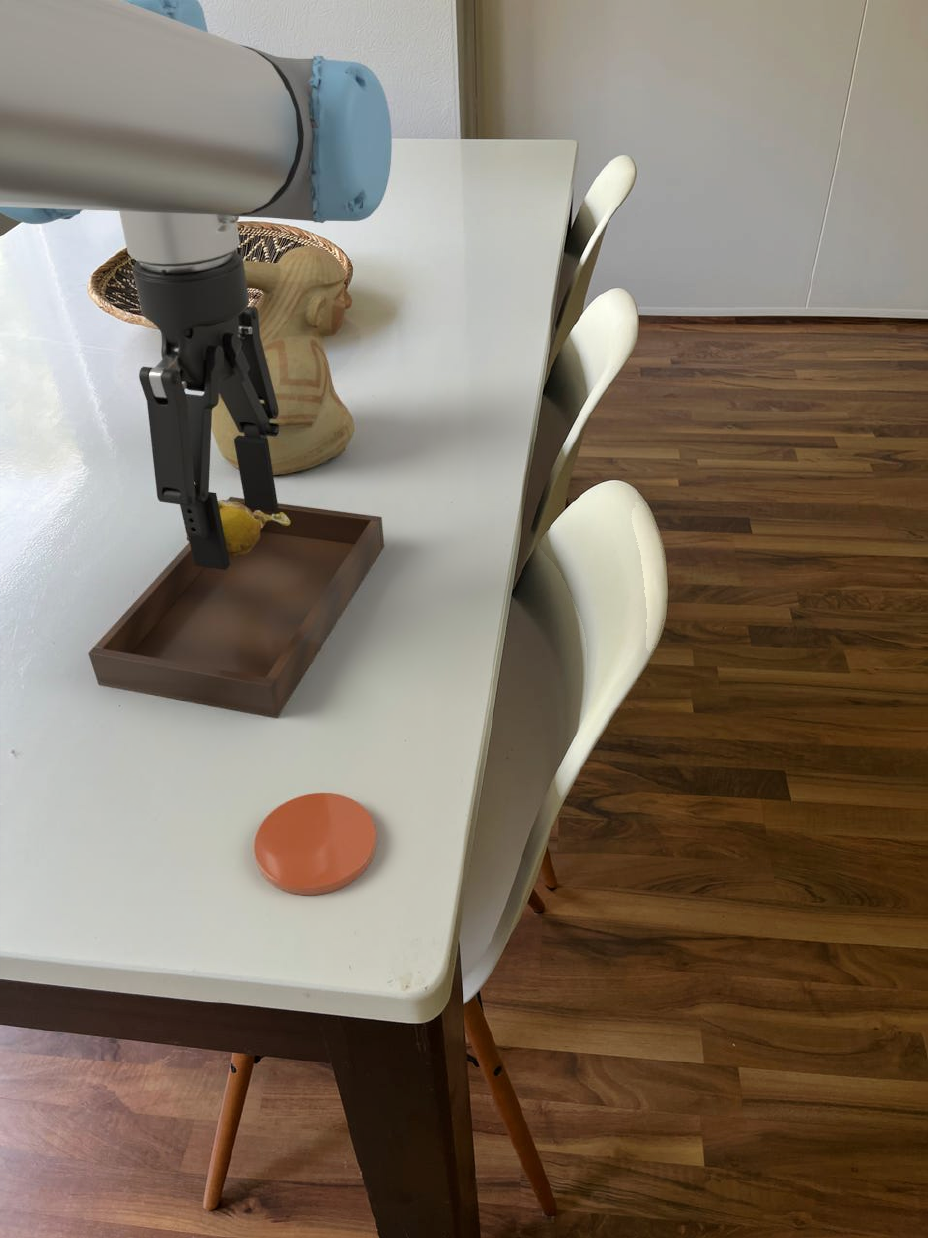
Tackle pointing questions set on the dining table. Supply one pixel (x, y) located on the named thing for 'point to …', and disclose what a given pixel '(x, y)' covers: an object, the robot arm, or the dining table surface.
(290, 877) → the plate
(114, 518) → the dining table surface
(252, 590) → the bin
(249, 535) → the fruit
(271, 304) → the ceramic vessel
